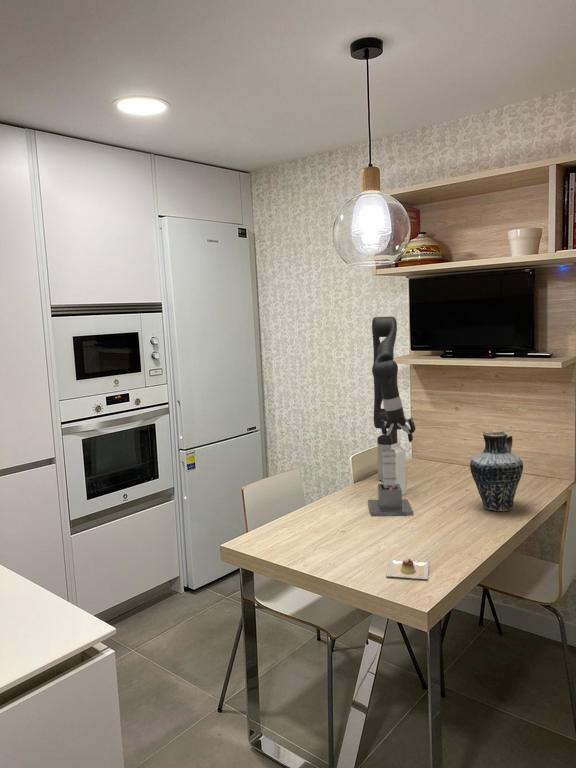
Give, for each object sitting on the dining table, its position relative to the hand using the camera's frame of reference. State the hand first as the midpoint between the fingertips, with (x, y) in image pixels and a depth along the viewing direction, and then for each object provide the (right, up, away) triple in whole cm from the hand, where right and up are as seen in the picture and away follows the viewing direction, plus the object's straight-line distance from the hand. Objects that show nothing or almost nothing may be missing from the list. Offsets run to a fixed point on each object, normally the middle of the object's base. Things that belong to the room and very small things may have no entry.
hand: (401, 442), depth 261 cm
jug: (+33, -24, -22) cm, 46 cm away
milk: (-2, -23, +1) cm, 23 cm away
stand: (-8, -25, -19) cm, 32 cm away
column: (-8, -23, -19) cm, 31 cm away
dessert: (-12, -32, -76) cm, 84 cm away
